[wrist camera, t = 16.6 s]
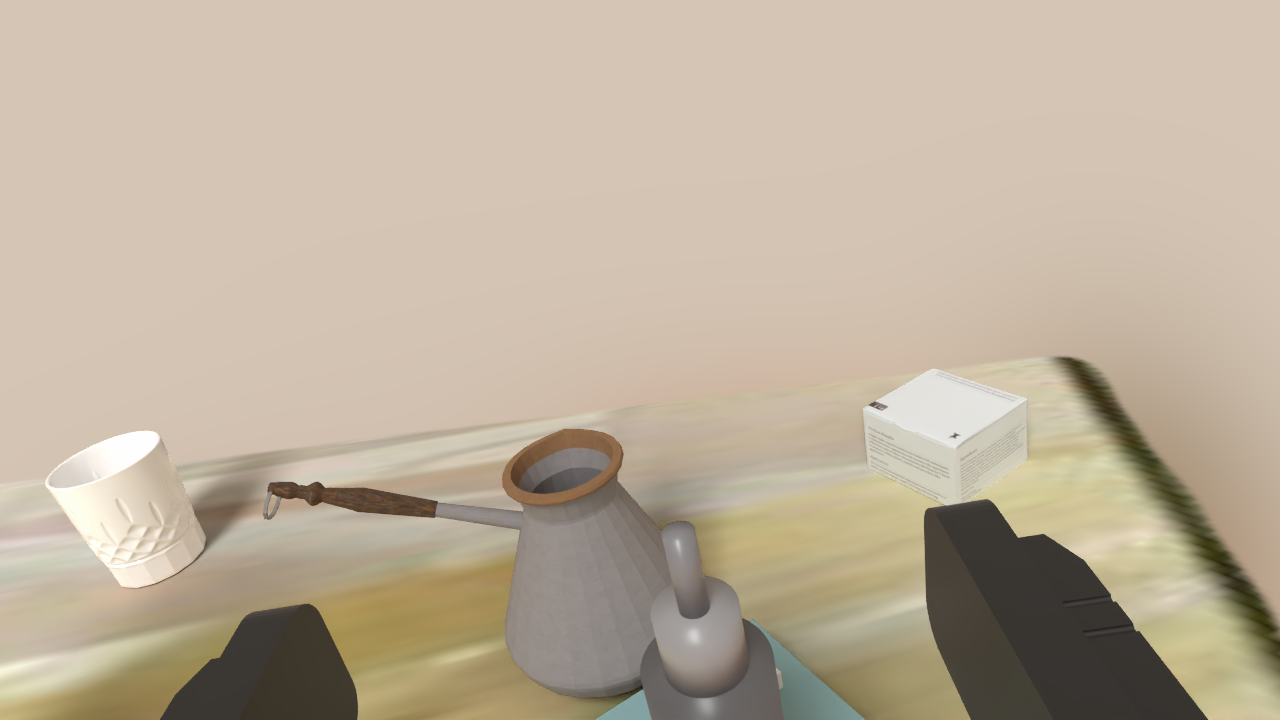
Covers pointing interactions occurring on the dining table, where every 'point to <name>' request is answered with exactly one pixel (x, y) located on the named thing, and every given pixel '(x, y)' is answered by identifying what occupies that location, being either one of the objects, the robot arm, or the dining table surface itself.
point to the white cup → (130, 507)
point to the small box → (946, 436)
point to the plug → (705, 646)
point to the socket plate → (806, 700)
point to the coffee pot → (557, 560)
